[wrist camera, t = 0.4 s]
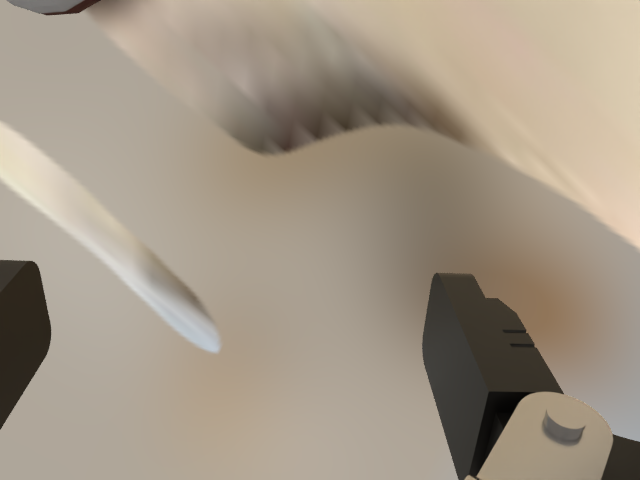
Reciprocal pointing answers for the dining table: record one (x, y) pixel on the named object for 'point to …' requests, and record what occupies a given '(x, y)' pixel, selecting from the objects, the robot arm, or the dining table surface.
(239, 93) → the dining table surface
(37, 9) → the mate gourd
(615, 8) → the dining table surface
